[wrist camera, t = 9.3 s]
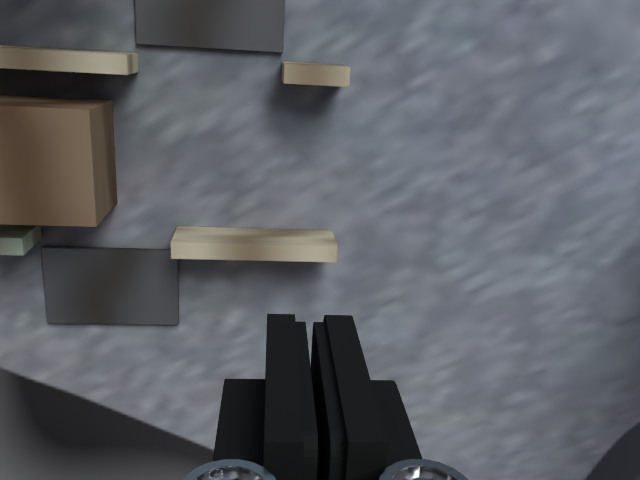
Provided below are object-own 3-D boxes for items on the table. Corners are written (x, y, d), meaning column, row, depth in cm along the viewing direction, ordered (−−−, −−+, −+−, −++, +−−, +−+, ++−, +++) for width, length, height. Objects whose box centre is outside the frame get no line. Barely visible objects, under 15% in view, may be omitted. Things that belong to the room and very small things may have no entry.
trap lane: (350, -40, 33) (358, -47, 30) (325, 324, 40) (330, 346, 37) (-58, -71, 31) (-90, -82, 28) (-10, 320, 38) (-31, 343, 35)
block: (112, 99, 34) (89, 109, 30) (117, 202, 36) (96, 226, 31) (1, 94, 34) (-41, 104, 29) (12, 199, 36) (-26, 223, 31)
